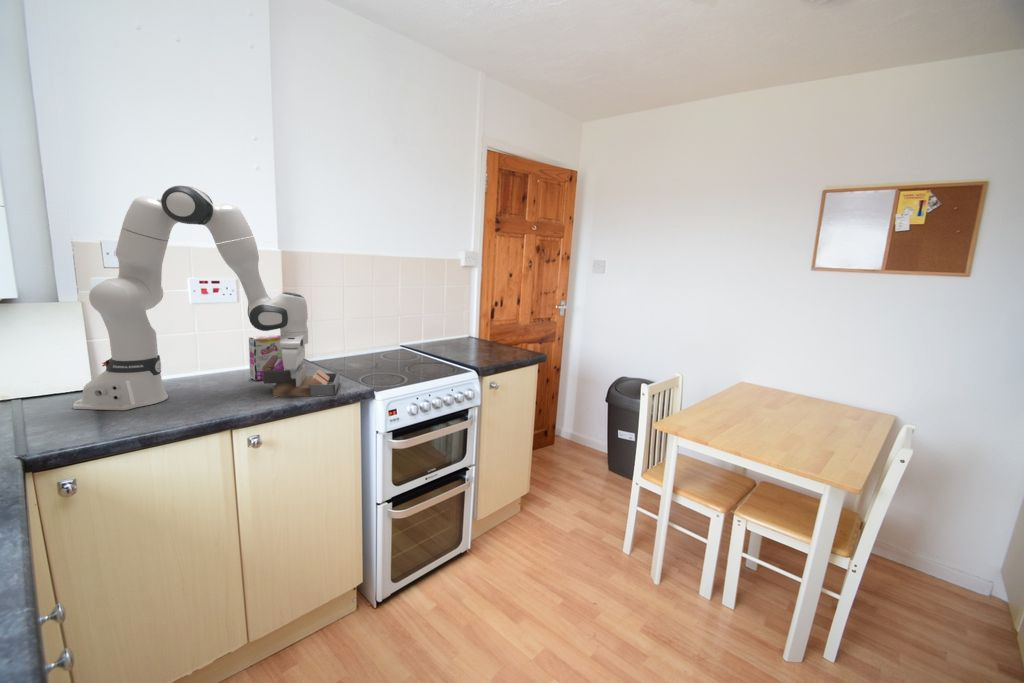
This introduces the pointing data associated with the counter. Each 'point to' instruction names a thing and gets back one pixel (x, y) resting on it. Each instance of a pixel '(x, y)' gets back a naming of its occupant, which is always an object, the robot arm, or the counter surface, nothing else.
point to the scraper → (284, 376)
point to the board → (293, 388)
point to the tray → (326, 386)
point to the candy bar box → (264, 355)
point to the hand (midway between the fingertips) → (295, 376)
